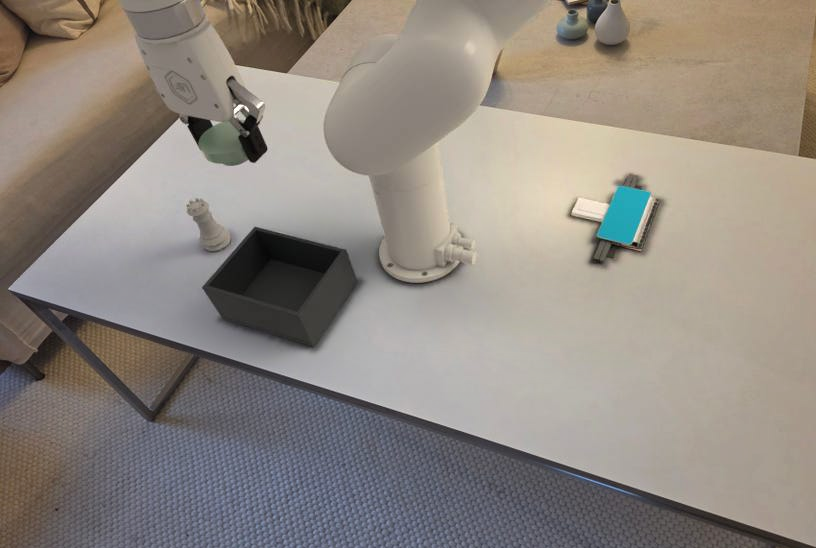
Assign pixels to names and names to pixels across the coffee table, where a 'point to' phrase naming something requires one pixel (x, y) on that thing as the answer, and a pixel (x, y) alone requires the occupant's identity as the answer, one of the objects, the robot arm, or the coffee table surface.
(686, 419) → the coffee table surface
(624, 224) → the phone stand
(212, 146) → the green round disc
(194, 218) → the rook chess piece
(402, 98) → the robot arm
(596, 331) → the coffee table surface
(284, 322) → the tub
